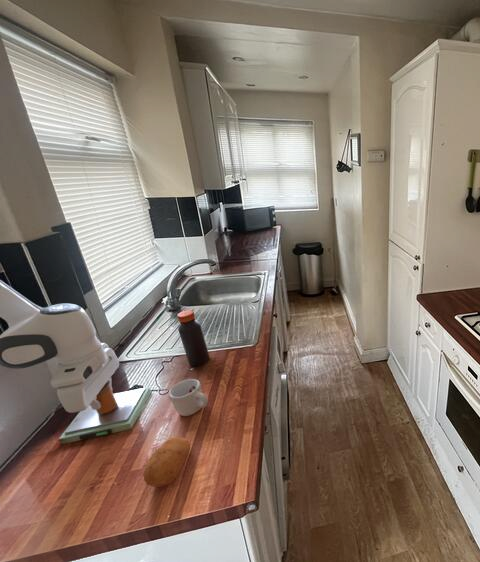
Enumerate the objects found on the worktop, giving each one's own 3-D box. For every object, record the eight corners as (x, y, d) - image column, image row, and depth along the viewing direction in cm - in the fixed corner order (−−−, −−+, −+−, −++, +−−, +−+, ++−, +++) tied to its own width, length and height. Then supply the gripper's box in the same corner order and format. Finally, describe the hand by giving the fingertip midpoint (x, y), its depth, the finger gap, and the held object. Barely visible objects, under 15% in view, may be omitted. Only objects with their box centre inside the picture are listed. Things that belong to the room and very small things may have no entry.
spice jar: (93, 416, 86) (83, 395, 83) (102, 403, 90) (92, 384, 87) (113, 411, 87) (104, 391, 84) (121, 399, 91) (112, 380, 89)
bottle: (200, 368, 109) (185, 319, 101) (184, 365, 111) (169, 317, 103) (214, 357, 115) (201, 309, 107) (199, 354, 117) (185, 307, 109)
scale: (60, 446, 80) (56, 439, 79) (92, 404, 94) (88, 397, 93) (130, 430, 84) (127, 423, 83) (151, 392, 98) (148, 385, 97)
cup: (219, 403, 93) (213, 382, 90) (199, 424, 86) (192, 402, 83) (191, 397, 96) (184, 376, 93) (169, 416, 89) (161, 395, 86)
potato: (142, 499, 67) (128, 475, 65) (171, 452, 79) (161, 430, 77) (175, 491, 68) (163, 467, 65) (199, 445, 80) (190, 423, 78)
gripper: (91, 341, 91) (108, 379, 96) (44, 387, 72) (68, 430, 78) (116, 337, 92) (131, 374, 97) (77, 381, 74) (98, 424, 79)
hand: (103, 400), depth 87 cm, fingers closed on spice jar, 4 cm apart
